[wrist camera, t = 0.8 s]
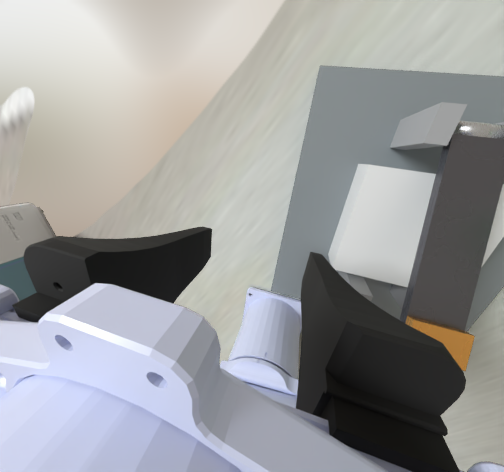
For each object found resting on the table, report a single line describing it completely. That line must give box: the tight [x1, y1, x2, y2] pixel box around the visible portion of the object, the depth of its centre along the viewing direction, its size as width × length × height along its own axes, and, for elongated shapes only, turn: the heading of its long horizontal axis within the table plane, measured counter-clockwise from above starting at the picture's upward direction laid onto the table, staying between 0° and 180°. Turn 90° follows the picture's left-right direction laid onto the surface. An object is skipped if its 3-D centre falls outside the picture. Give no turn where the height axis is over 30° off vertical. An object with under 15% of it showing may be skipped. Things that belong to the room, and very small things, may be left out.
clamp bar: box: [400, 121, 504, 371], centre depth 11 cm, size 14×3×1 cm, turn 173°
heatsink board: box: [271, 66, 504, 332], centre depth 16 cm, size 22×20×6 cm
